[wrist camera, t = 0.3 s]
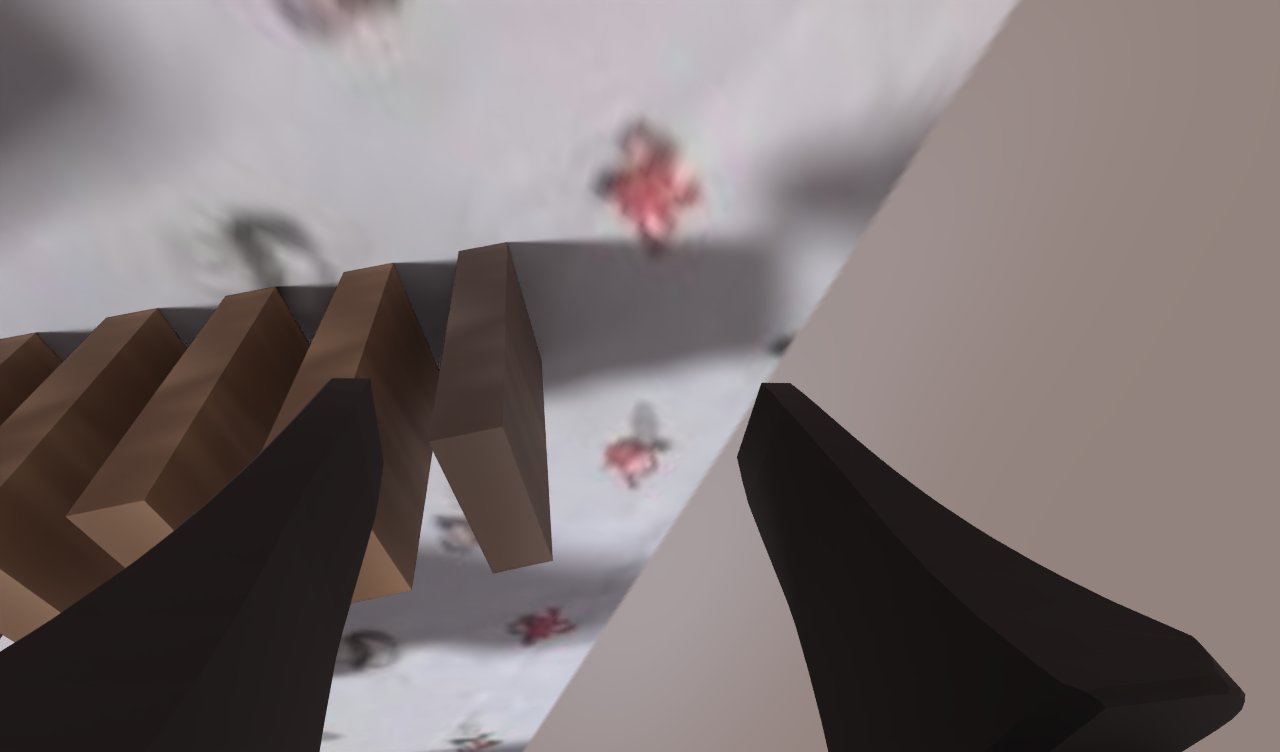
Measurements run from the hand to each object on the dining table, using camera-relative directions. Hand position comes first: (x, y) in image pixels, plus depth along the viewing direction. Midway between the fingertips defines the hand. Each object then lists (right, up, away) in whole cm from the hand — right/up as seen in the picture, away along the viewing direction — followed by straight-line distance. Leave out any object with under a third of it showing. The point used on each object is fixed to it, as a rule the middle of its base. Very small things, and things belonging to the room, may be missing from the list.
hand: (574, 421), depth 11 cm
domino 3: (-7, +3, +10) cm, 12 cm away
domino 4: (-4, +3, +10) cm, 11 cm away
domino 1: (-15, +1, +9) cm, 18 cm away
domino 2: (-11, +2, +10) cm, 15 cm away
